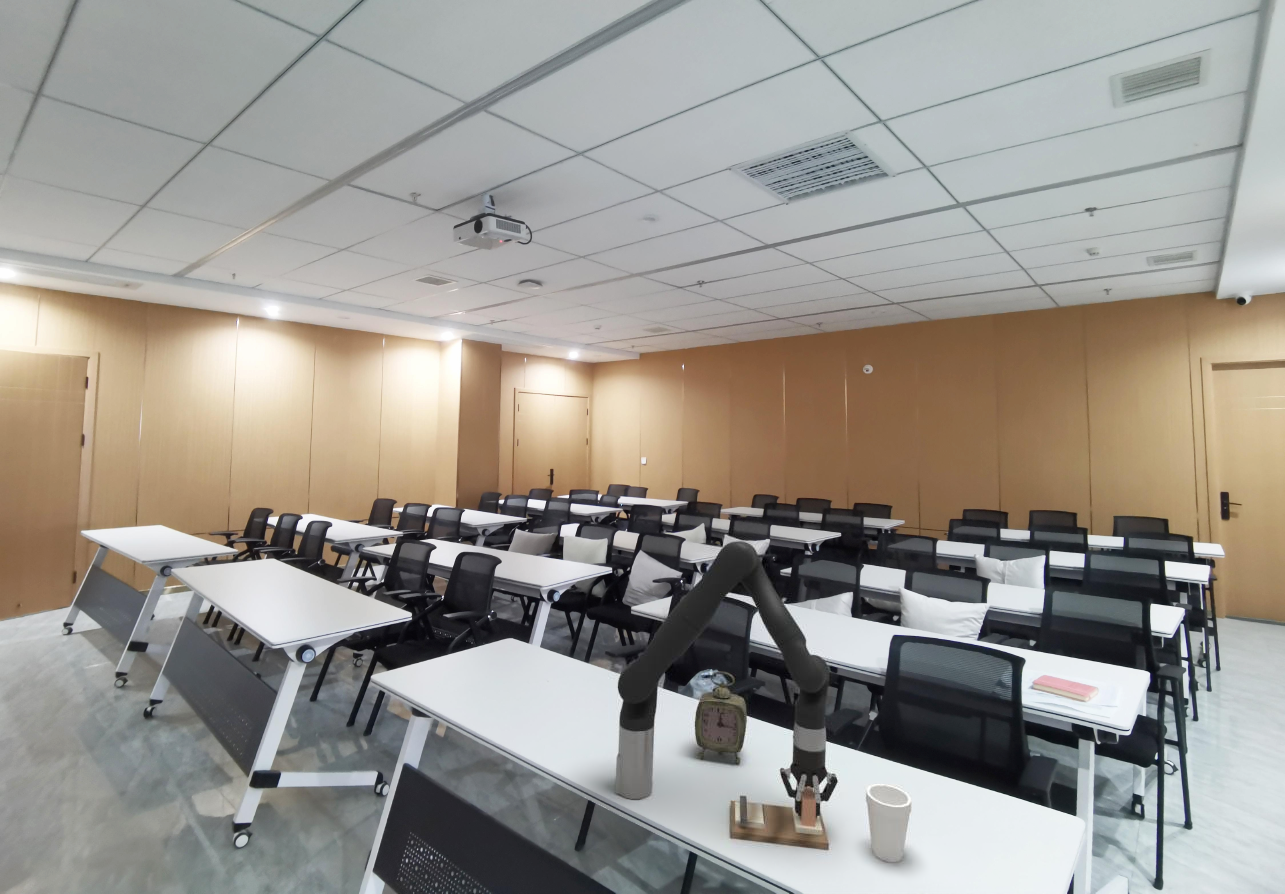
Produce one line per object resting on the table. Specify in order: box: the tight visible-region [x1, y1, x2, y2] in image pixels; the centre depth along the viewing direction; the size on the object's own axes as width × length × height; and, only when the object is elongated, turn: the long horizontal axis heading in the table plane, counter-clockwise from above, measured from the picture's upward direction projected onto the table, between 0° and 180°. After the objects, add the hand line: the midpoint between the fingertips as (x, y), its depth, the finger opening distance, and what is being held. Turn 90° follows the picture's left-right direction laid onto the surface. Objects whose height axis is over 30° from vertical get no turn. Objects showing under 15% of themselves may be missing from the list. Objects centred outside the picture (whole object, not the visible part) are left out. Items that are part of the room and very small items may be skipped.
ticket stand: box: [730, 795, 830, 851], centre depth 146 cm, size 22×13×4 cm, turn 82°
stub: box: [792, 787, 823, 835], centre depth 145 cm, size 6×8×7 cm
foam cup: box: [865, 783, 912, 863], centre depth 138 cm, size 10×9×13 cm
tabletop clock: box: [694, 671, 748, 765], centre depth 180 cm, size 14×9×25 cm, turn 76°
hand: (807, 814), depth 145 cm, fingers closed on stub, 3 cm apart
